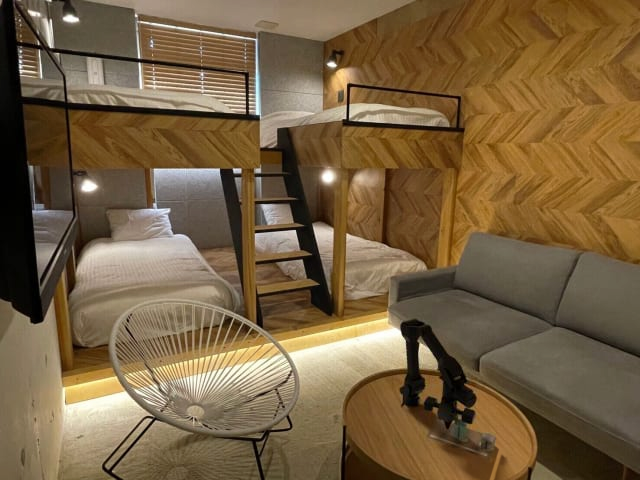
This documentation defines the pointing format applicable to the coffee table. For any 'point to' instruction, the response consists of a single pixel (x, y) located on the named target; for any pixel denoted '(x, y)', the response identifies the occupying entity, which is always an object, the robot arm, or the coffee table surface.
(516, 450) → the coffee table surface
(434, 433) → the board
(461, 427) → the sage green box
